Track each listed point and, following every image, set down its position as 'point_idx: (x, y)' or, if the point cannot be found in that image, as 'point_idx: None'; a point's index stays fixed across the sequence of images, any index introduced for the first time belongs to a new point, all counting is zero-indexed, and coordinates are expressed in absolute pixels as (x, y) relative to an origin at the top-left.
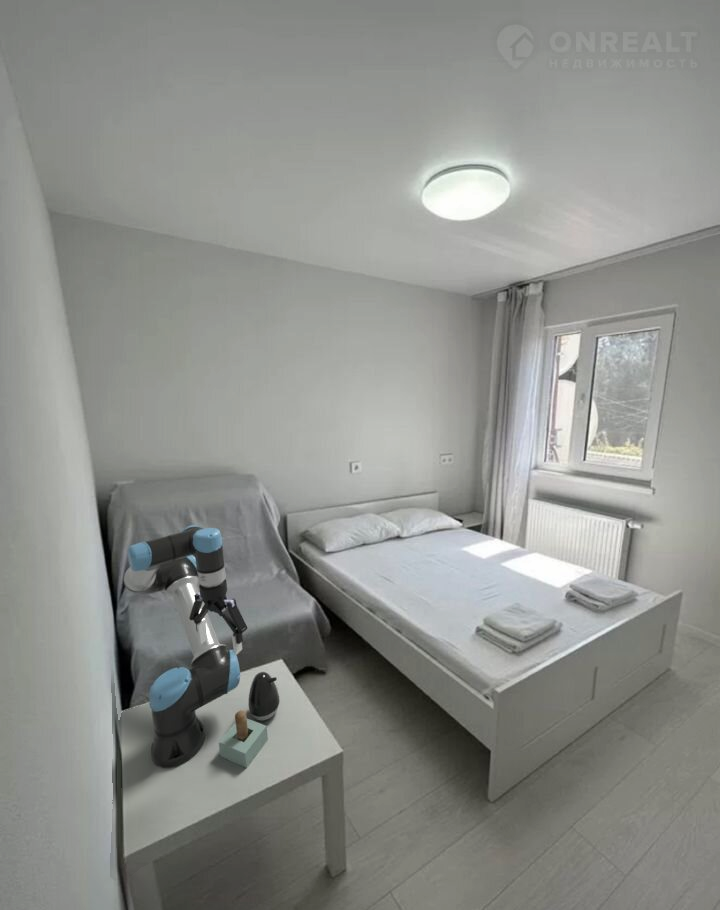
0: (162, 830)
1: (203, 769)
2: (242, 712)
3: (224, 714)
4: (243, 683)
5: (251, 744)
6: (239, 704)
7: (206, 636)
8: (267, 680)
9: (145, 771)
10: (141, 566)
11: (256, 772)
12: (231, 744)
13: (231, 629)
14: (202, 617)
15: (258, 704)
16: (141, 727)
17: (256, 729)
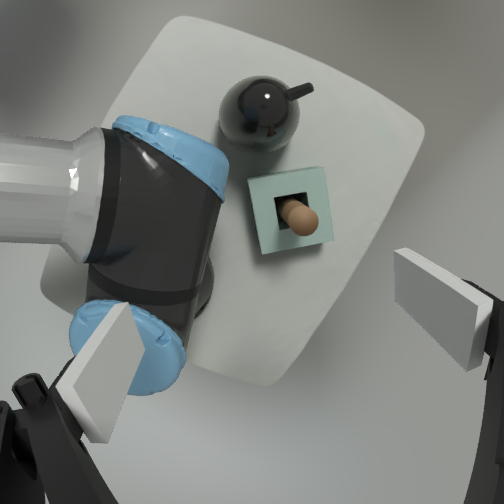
0: (285, 360)
1: (254, 279)
2: (303, 214)
3: None
4: (137, 93)
5: (329, 218)
6: None
7: (124, 319)
8: (289, 101)
9: None
10: None
11: (345, 228)
12: (292, 242)
13: (486, 392)
14: (80, 449)
15: (279, 145)
16: (74, 292)
17: (310, 186)
